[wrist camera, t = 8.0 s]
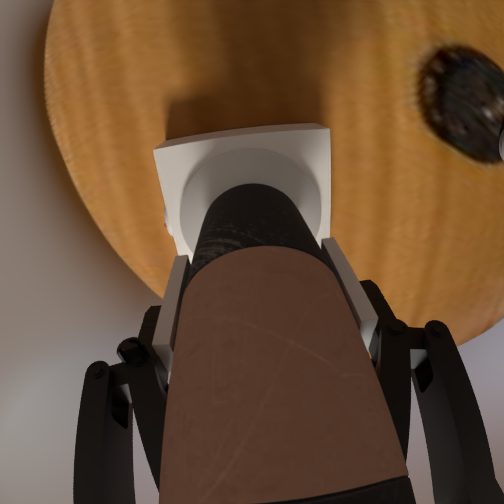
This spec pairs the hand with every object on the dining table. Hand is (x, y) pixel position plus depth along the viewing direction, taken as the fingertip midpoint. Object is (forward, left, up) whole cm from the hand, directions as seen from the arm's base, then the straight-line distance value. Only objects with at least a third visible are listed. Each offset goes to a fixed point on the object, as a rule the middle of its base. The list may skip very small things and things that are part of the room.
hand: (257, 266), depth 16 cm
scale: (0, 0, -11) cm, 11 cm away
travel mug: (0, 0, -5) cm, 5 cm away
